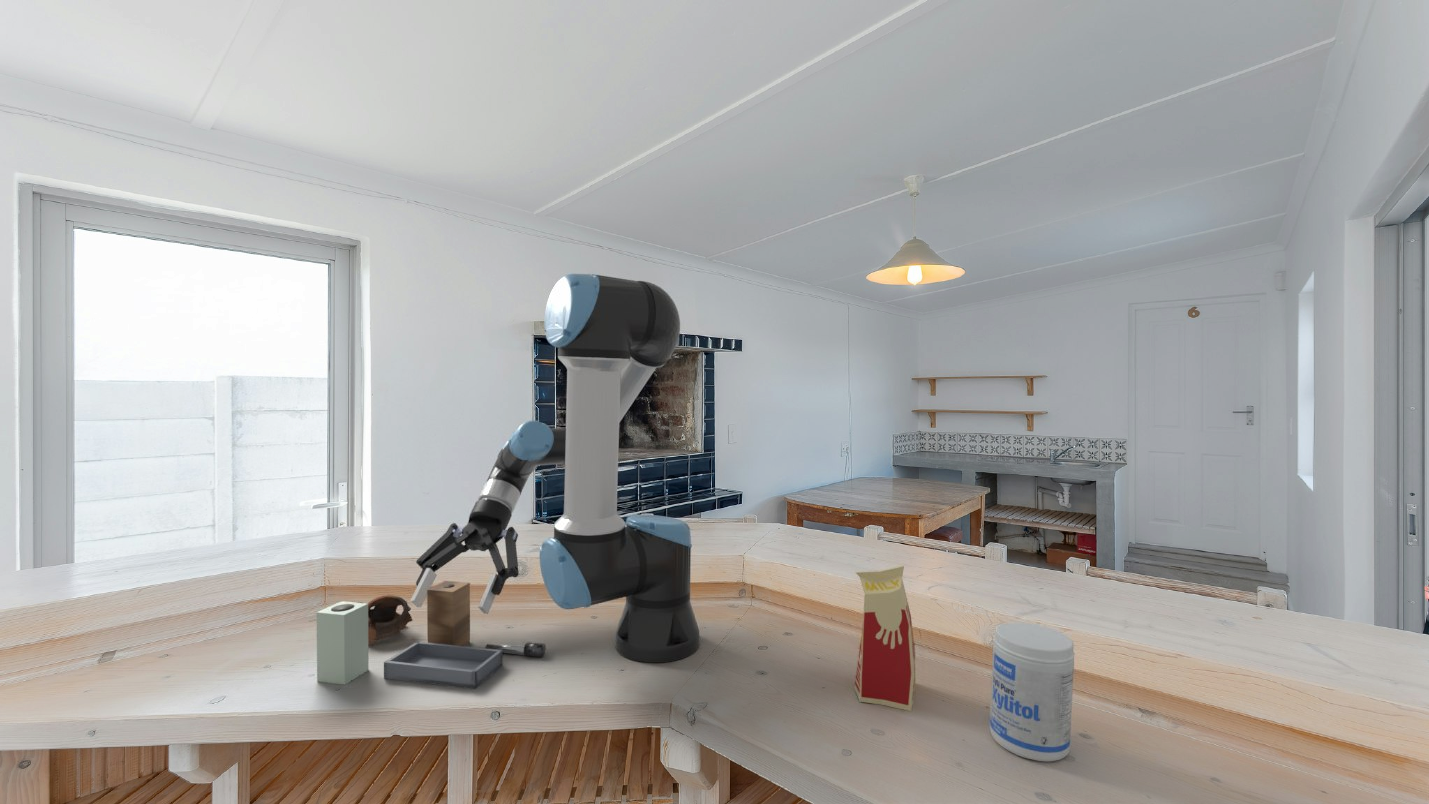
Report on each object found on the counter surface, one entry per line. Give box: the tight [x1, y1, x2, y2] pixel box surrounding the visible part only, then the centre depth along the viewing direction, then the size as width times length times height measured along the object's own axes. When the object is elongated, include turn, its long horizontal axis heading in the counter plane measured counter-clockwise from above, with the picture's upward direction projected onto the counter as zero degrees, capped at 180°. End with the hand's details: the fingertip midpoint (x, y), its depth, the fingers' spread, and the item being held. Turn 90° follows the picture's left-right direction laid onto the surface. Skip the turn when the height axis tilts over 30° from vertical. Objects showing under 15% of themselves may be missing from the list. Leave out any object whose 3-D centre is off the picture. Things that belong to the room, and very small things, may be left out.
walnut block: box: [426, 580, 471, 647], centre depth 109 cm, size 5×5×11 cm
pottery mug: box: [355, 594, 414, 646], centre depth 114 cm, size 12×10×8 cm
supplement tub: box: [989, 621, 1075, 763], centre depth 81 cm, size 10×10×15 cm
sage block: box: [316, 600, 370, 685], centre depth 98 cm, size 5×5×11 cm
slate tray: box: [383, 641, 504, 690], centre depth 100 cm, size 16×8×3 cm, turn 79°
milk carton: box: [853, 565, 916, 712], centre depth 95 cm, size 9×9×20 cm
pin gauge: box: [484, 641, 547, 658], centre depth 107 cm, size 10×2×2 cm, turn 79°
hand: (448, 607), depth 110 cm, fingers open, 13 cm apart
